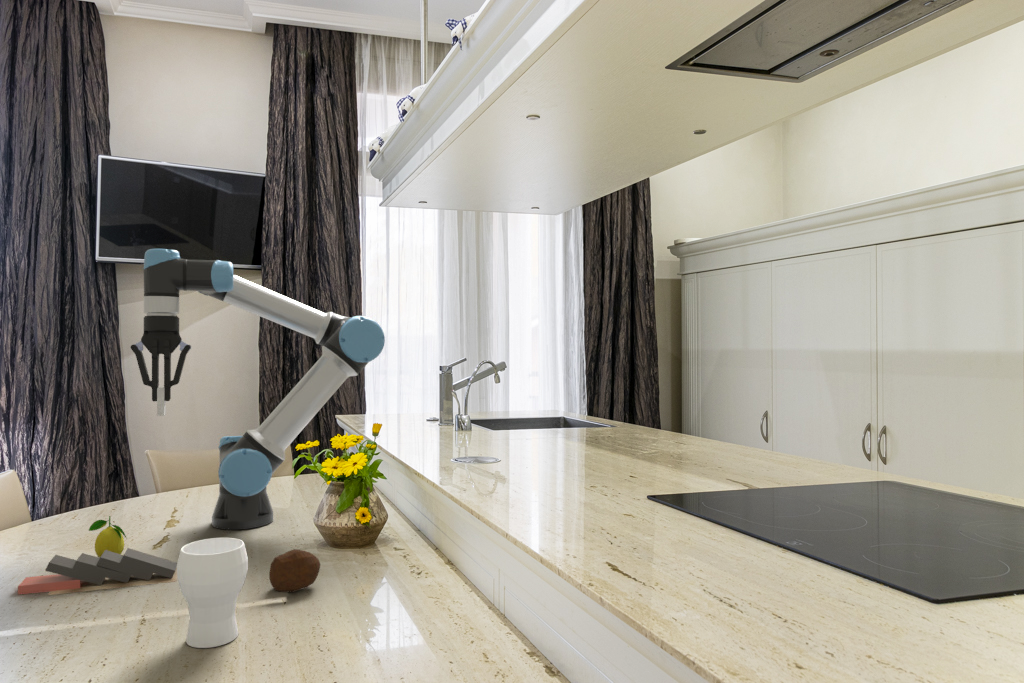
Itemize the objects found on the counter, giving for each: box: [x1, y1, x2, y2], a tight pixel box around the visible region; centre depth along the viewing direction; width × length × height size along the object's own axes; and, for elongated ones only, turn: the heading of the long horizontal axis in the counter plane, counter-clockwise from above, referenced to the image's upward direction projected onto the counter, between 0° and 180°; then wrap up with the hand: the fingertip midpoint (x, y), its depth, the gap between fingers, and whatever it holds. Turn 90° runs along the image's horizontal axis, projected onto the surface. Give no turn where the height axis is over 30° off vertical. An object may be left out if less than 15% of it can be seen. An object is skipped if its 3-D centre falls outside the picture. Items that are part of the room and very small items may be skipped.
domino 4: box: [97, 550, 153, 581], centre depth 138 cm, size 2×5×10 cm
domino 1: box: [17, 573, 85, 596], centre depth 134 cm, size 2×5×10 cm
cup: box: [176, 537, 249, 649], centre depth 113 cm, size 11×11×15 cm
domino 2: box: [44, 554, 106, 585], centre depth 135 cm, size 2×5×10 cm
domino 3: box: [73, 552, 131, 583], centre depth 137 cm, size 2×5×10 cm
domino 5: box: [120, 547, 177, 578], centre depth 139 cm, size 2×5×10 cm
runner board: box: [47, 567, 178, 596], centre depth 138 cm, size 26×9×1 cm, turn 111°
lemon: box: [88, 515, 127, 558], centre depth 151 cm, size 7×6×10 cm
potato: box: [268, 548, 321, 594], centre depth 135 cm, size 7×10×8 cm
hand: (161, 415), depth 164 cm, fingers closed
